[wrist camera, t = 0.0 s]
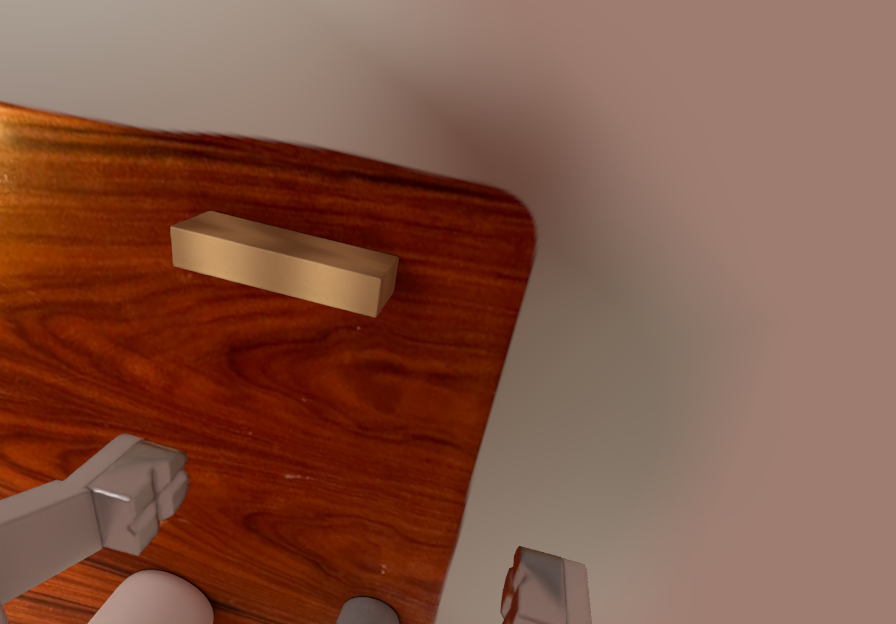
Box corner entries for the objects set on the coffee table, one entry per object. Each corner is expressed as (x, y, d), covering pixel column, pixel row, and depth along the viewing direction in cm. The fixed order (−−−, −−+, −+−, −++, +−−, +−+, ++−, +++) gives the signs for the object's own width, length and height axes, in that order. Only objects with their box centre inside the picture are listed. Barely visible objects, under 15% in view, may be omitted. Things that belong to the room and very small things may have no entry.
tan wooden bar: (211, 246, 25) (172, 266, 23) (209, 210, 25) (169, 226, 22) (394, 292, 25) (376, 318, 22) (399, 256, 24) (381, 278, 21)
